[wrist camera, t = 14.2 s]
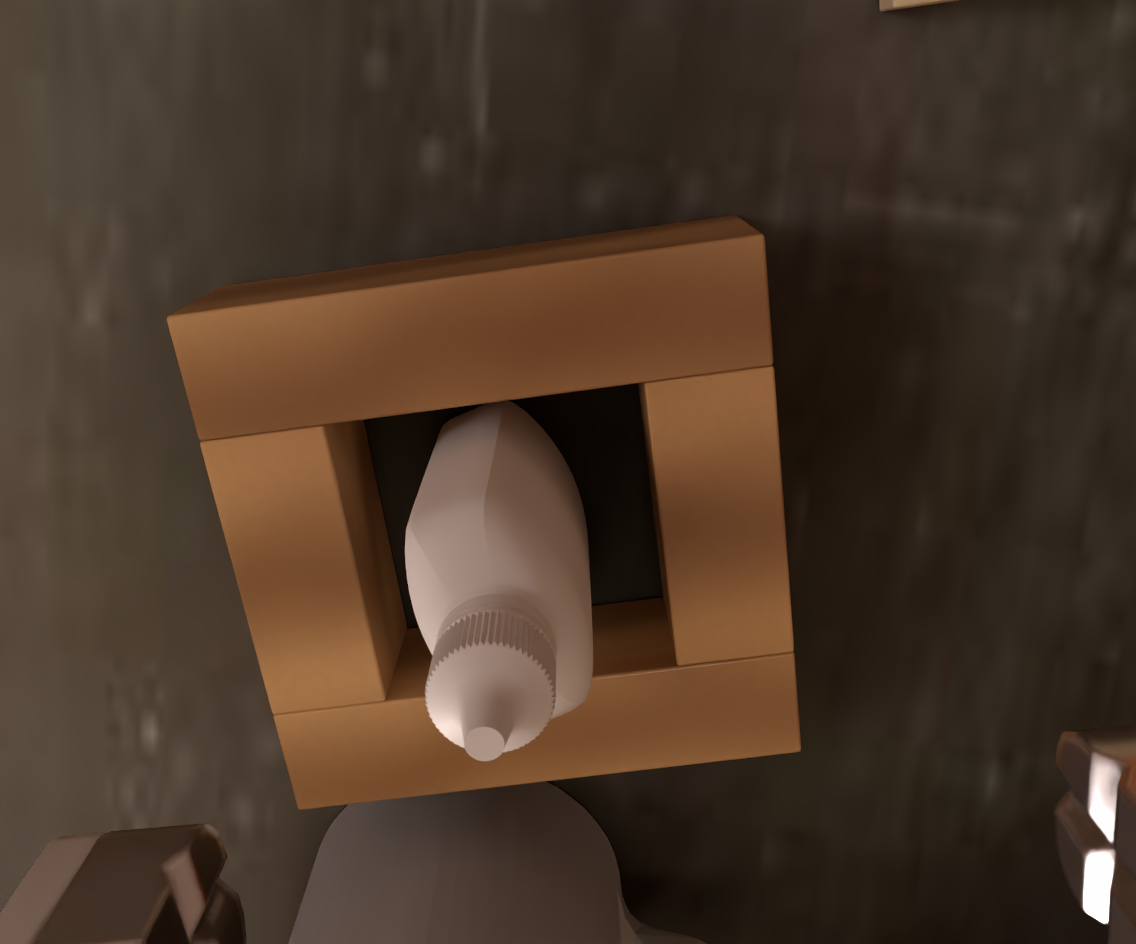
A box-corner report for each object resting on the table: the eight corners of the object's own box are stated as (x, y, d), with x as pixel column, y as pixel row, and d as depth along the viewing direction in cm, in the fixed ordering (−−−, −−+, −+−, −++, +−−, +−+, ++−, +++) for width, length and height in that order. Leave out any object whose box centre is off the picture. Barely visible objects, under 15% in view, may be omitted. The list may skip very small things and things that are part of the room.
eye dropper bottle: (431, 576, 30) (351, 865, 19) (443, 388, 28) (362, 585, 17) (582, 590, 30) (593, 885, 19) (604, 404, 28) (631, 609, 17)
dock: (219, 285, 27) (164, 316, 24) (736, 214, 27) (764, 233, 23) (329, 726, 32) (298, 811, 28) (773, 673, 31) (802, 753, 27)
